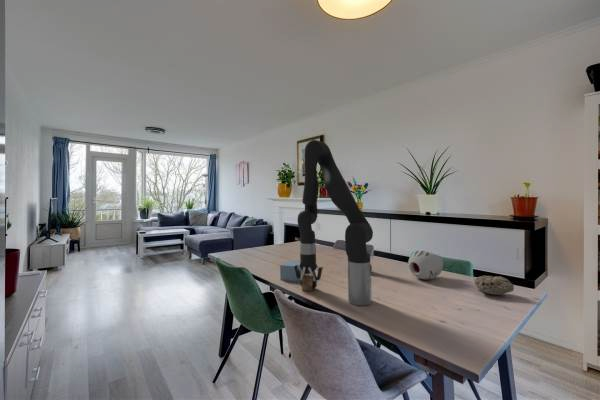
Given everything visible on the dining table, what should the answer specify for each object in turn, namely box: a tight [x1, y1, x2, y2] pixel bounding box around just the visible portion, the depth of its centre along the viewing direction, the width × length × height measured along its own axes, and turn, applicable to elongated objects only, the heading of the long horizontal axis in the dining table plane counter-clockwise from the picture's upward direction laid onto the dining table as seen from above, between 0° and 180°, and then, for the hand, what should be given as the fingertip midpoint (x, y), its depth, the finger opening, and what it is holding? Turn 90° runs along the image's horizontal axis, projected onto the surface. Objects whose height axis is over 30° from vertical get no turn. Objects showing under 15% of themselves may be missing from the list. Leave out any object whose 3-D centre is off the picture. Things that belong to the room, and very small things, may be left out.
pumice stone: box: [473, 275, 515, 296], centre depth 119 cm, size 14×12×8 cm
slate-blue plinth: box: [279, 259, 310, 283], centre depth 148 cm, size 12×12×8 cm
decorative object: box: [408, 250, 445, 281], centre depth 143 cm, size 16×19×15 cm
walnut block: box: [301, 274, 315, 292], centre depth 129 cm, size 5×5×6 cm
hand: (308, 287), depth 130 cm, fingers closed on walnut block, 5 cm apart
